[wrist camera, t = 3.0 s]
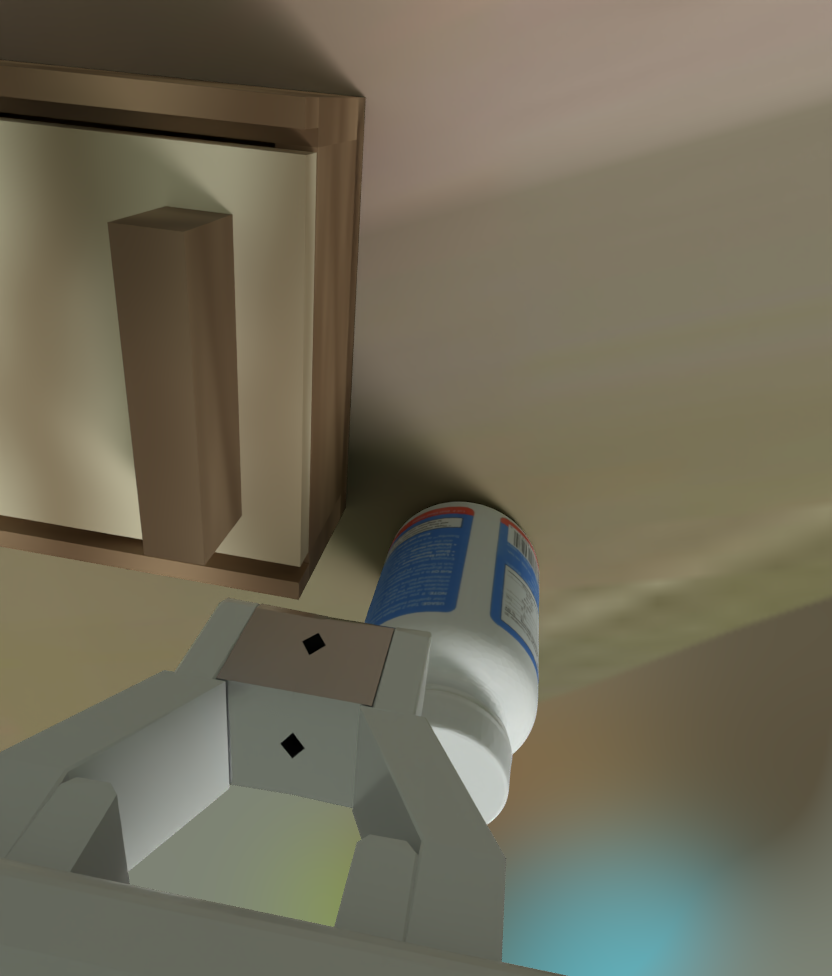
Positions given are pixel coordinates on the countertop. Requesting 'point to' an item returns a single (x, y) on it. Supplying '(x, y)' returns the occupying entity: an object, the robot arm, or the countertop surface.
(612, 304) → the countertop surface
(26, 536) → the lid box
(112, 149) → the lid
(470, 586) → the pill bottle
